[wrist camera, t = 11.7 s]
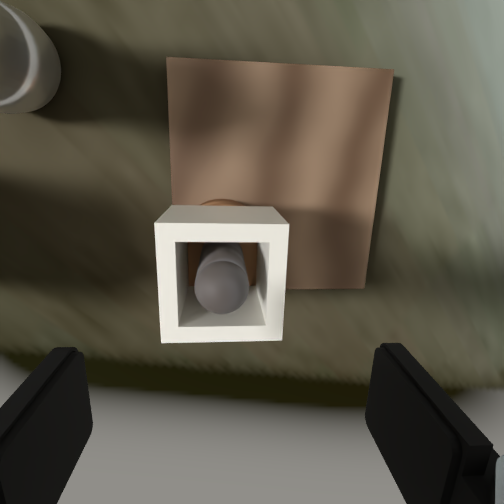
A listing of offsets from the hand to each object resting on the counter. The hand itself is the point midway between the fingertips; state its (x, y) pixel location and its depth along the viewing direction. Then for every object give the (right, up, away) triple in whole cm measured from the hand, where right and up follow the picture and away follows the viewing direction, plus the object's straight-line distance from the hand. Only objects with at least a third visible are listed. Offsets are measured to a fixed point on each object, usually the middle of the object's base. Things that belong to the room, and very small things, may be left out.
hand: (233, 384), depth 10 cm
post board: (+3, +10, +18) cm, 20 cm away
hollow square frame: (-1, +4, +13) cm, 14 cm away
